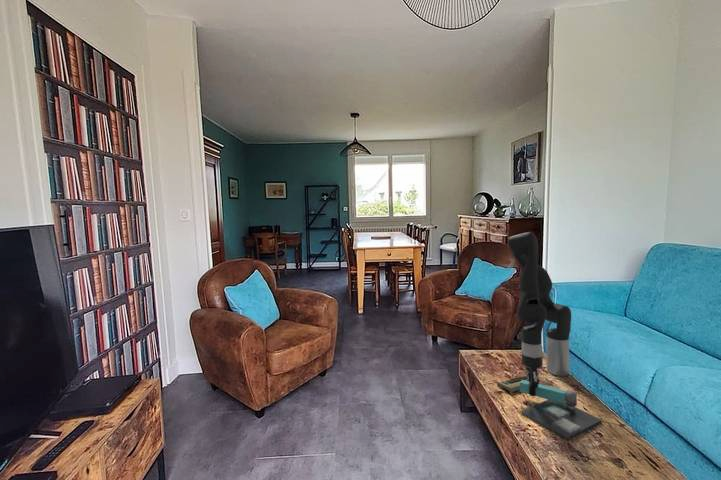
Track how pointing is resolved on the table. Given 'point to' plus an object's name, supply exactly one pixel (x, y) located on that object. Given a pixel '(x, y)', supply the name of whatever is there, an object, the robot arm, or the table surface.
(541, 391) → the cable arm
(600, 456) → the table surface
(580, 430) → the board
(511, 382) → the computer
